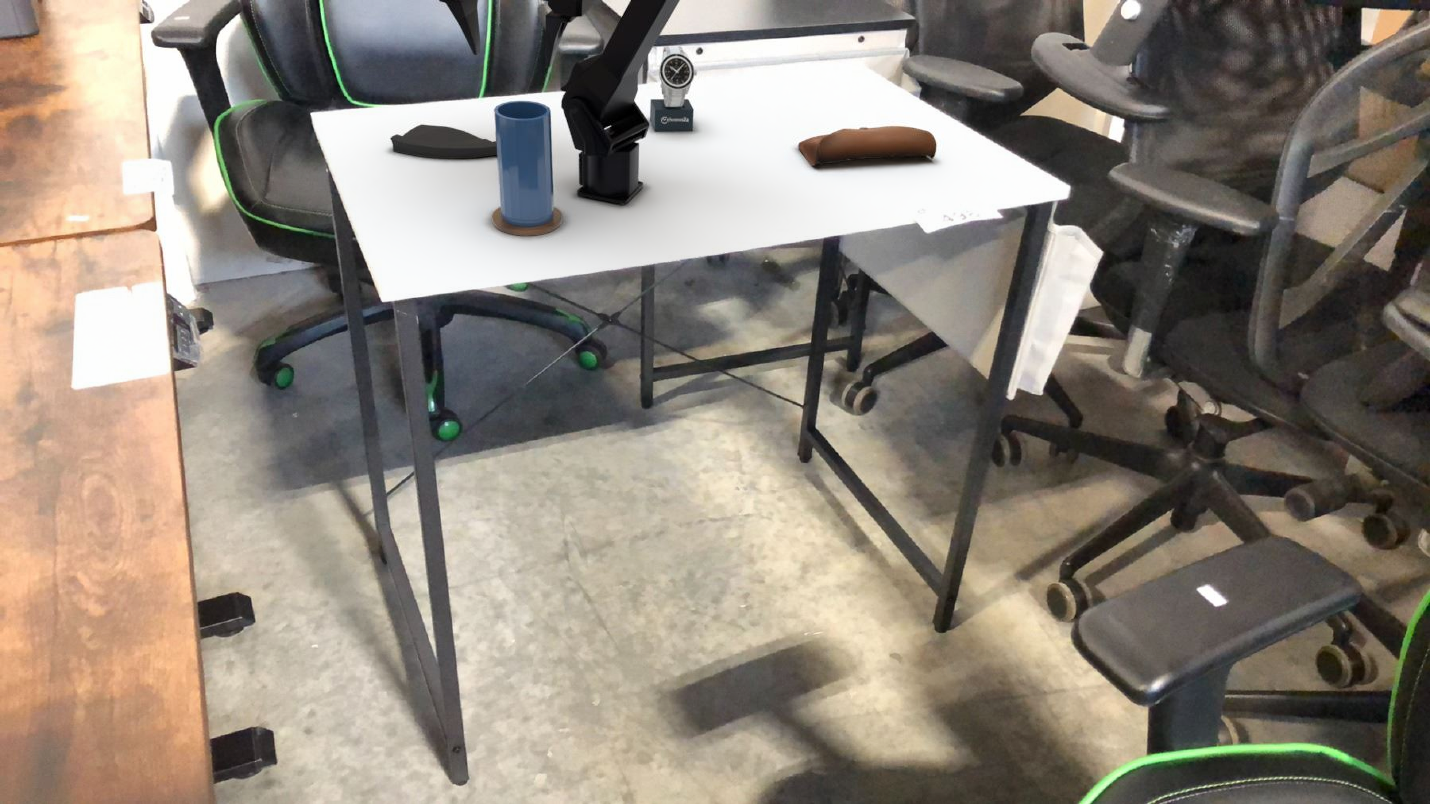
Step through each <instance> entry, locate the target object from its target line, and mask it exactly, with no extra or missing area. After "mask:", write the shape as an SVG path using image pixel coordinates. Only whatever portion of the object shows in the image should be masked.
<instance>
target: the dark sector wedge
mask: <svg viewBox="0 0 1430 804" xmlns="http://www.w3.org/2000/svg"><path fill="white" fill-rule="evenodd" d="M389 140H391V141H390V142H391V144H392V151H393V152H396V153H399V154H400V153H401V154H405V155H410V156H416V157H422V158H430V159H448V160H449V159H459V160H460V159H472V158H473V159H474V158H483V157H489V156H490V157H491V156H497V149H496V140H493V141H491V140H490V139H487V138H481V137H478V136H476V135H475V134H472V133H470V132H468V131H465V130H462V129H458V128H456V127H455V128H454V127H450V126H445V125H432V124H424V123H423V124H422V123H421V124H418V125H417V126H415V127H413V128H411V129H410V130H408V131H407V132H405V133H404V134H403V135H400V134H398V133H397V134H394V135H392V136H391V137H389Z"/></svg>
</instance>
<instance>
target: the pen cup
mask: <svg viewBox="0 0 1430 804" xmlns="http://www.w3.org/2000/svg"><path fill="white" fill-rule="evenodd" d="M551 112H552V111H551V109H550V107H549V106H547V105H546V104H544V103H541V102H537V101H533V100H532V101H531V100H530V101H529V100H512V101H505V102H503V103H500V104H498V105H496V106H495V107H494V108H493V114H494V115H493V116H494V117H493V118H494V131H495V141H496V149H497V155H496V163H497V177H498V179H497V180H498V193H499V194H498V195H499V207H500V209H501V217H502V219H503V220H504V221H505V222H506V223H508V224H511V225H514V226H520V227H535V226H540V225H544V224H546V223H548V222H550V221H551V220H552V219H553V217H554V207H555V204H554V203H555V201H554V172H553V171H554V170H553V142H552V141H553V140H552V113H551Z"/></svg>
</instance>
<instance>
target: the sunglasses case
mask: <svg viewBox="0 0 1430 804" xmlns="http://www.w3.org/2000/svg"><path fill="white" fill-rule="evenodd" d="M797 146H798V149H799V150H800V152H801V154H802V156H803V157H804V158H805V160H806V161H807V162H808V163H809V165H810V166H811V167H813V166H817V165H818V164H820V165H822V164H829V163H837V162H845V161H849V160H851V161H854V160H860V159H882V158H890V157H893V158H903V157H905V158H906V157H923V156H927V157H928V158H930V159H932V160H933V159H934V158H935V156H936V153H937V141H936V137H935V136H934V135H933V133H931V131H928V130H925V129H922V128H917V127H912V126H911V127H910V126H906V125H905V126H902V125H901V126H900V125H887V126H885V125H884V126H878V127H877V126H876V127H867V126H865V127H864V126H862V127H859V128H840V129H838V130H835V131H833V132H831V133H828V134H822V135H817V136H812V137H809V138H807V139H805V140H802V141H800V142H799V143H798V145H797Z"/></svg>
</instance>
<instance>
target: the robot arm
mask: <svg viewBox="0 0 1430 804" xmlns="http://www.w3.org/2000/svg"><path fill="white" fill-rule="evenodd" d="M438 1H439V2H440V3H444V4H446V6H447V8H448V10H449V11H450V13H451V15H452V16H453V18H454V19H455V21H456V22H457V24H458V26H459V28H460V29H461V32H462V34H463V36H464V38H465V40H466V42H467V44H468V47H469V49H470V51H471V52H472V54H473V56H477V57H478V55H480V54H481V35H480V34H481V33H480V24H479V11H478V3H479V0H438ZM542 1H543V2H547V6H548V8H549V9H550V11H549V12H547V14H545V21H544V22H545V25H544V27H545V28H544V30H545V32H544V60H545V61H544V62H545V67H546V68H547V69H550V68H551V67H552V66H553V64H554V61H555V58H556V55H557V52H558V49H559V46H560V43H561V40H562V38H563V35H564V32H565V30H566V29H567V26H568V24H570V23H572V22H573V21H574V20H575V19H576V18H580V17H583V16H584V15H586V14H587V12H589V11H590V10H591V9H592V8H593V7H594V6H595V0H542ZM680 1H681V0H630V1H629V2H628V4H627V6H626V7H625V10H624V11H623V14H622V16H621V17H620V19H619V21H618V23H617V25H616V26H615V28H614V30H613V32H612V34H611V35H610V38H609V39H608V41H607V43H606V45H605V46H604V49H603V51H602V52H600V53H598V54H595V55H593V56H590V57H588V58H585V59H582V60H581V61H580V60H579V61H577V62H575V63H574V66H573V67H572V69H571V72H570V75H569V78H568V80H567V81H566V83H565V85H563V86H561V87H560V91H561V92H564V94H563V95H562V97H561V103H560V104H561V105H560V108H561V110H563V115H564V118H565V121H566V124H567V127H568V131H569V134H570V137H571V141H572V144H573V146H574V149H575V150H577V151H580V152H579V153H578V184H579V186H580V187H579V188H578V189H577V190H576V195H577V196H579V197H583V198H589V199H593V200H598V201H604V202H608V203H613V204H618V205H626V204H628V202H629V201H630V200H632V198H633V197H635V195H636V194H638V192H640V191H641V189H642V188H643V187H644V182H643V181H640V180H639V173H640V171H639V169H640V168H639V166H640V143H639V142H638V141H639V140H643V139H645V138H646V137H647V134H648V131H649V129H650V126H651V122H649V120H648V119H647V117H646V116H645V114H644V113H643V111H642V110H641V109H640V107H639V105H638V104H637V102H636V101H635V100H636V97H637V94H638V91H639V72H640V70H641V68H642V66H643V65H644V63H645V61H646V60H647V58H648V57H649V54H650V53H651V51H652V49H653V48H654V45H655V44H656V43H657V41H658V39H659V37H660V35H661V33H662V32H663V30H664V29H665V26H666V25H667V23H668V21H669V19H670V18H671V17H672V15H673V13H674V12H675V9H676V8H677V6H678V5H679V3H680Z"/></svg>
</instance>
